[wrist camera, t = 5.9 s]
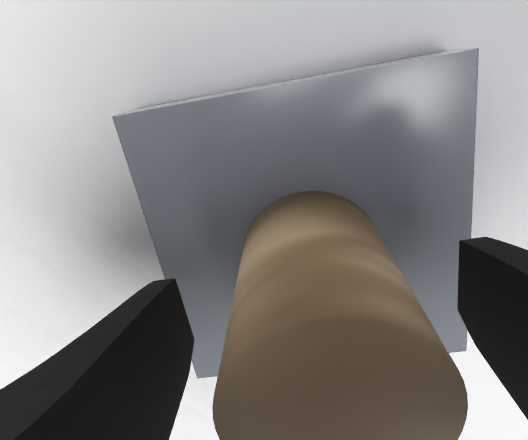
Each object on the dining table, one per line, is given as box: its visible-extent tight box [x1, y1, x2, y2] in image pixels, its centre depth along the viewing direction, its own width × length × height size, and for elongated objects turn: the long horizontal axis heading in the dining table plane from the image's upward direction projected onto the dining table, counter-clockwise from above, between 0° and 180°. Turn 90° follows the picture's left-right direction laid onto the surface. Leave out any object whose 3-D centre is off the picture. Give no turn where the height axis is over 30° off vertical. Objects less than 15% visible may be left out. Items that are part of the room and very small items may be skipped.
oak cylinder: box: [213, 191, 468, 440], centre depth 9 cm, size 4×4×6 cm
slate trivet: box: [113, 48, 479, 378], centre depth 13 cm, size 10×10×2 cm
